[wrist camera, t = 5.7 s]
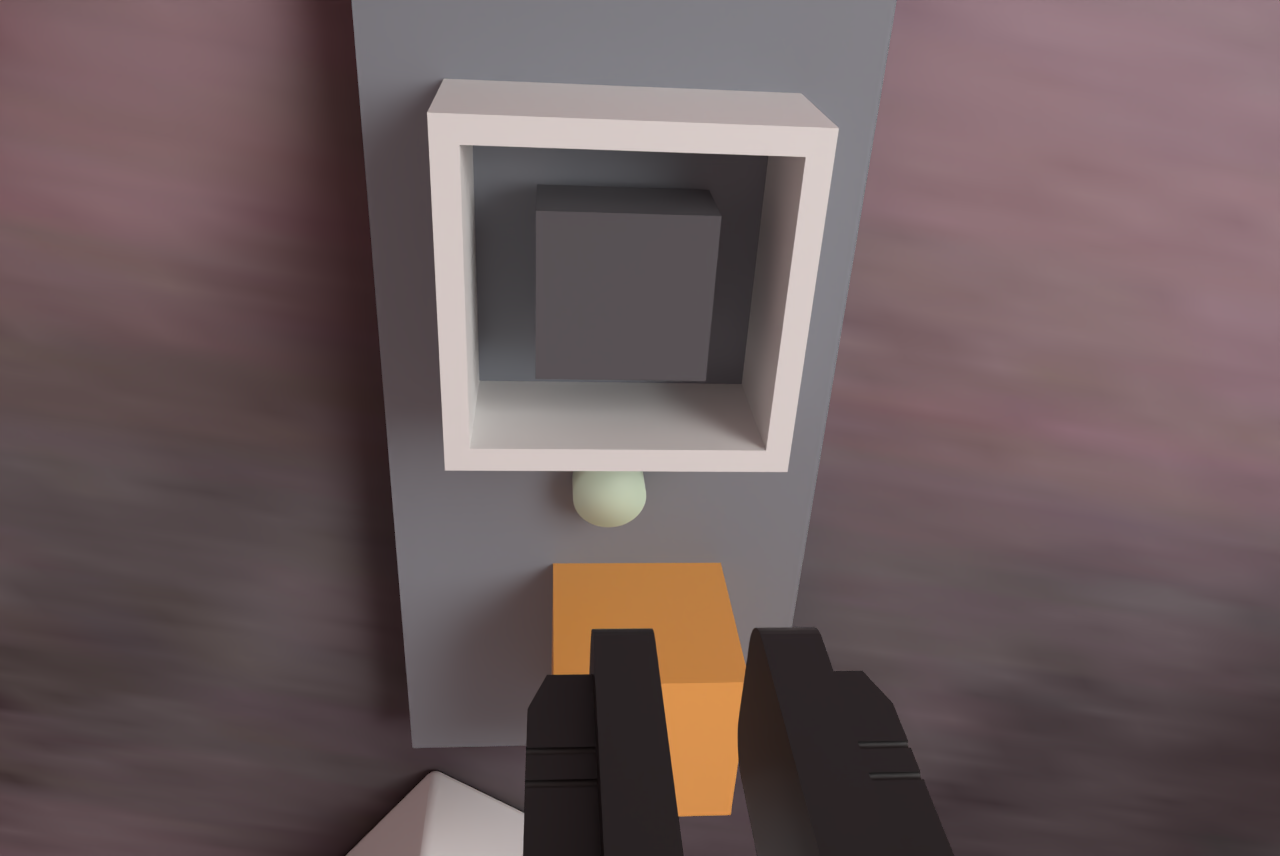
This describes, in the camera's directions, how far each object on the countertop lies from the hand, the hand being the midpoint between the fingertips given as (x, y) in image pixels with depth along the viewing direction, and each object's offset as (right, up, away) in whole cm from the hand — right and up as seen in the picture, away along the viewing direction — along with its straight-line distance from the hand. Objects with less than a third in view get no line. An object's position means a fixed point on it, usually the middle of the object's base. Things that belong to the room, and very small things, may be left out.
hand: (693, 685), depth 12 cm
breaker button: (-1, +7, +12) cm, 14 cm away
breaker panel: (-2, +4, +17) cm, 18 cm away
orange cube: (-1, -3, +19) cm, 19 cm away
